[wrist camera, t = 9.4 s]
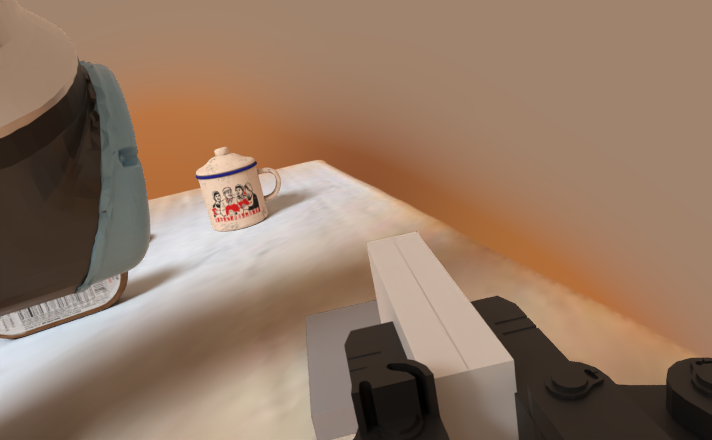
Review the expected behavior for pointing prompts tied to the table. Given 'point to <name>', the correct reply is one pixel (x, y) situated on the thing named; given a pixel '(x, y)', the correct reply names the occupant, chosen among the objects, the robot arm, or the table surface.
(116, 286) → the tin
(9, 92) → the robot arm
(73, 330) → the table surface
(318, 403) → the ceramic tile
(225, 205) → the teacup with lid
